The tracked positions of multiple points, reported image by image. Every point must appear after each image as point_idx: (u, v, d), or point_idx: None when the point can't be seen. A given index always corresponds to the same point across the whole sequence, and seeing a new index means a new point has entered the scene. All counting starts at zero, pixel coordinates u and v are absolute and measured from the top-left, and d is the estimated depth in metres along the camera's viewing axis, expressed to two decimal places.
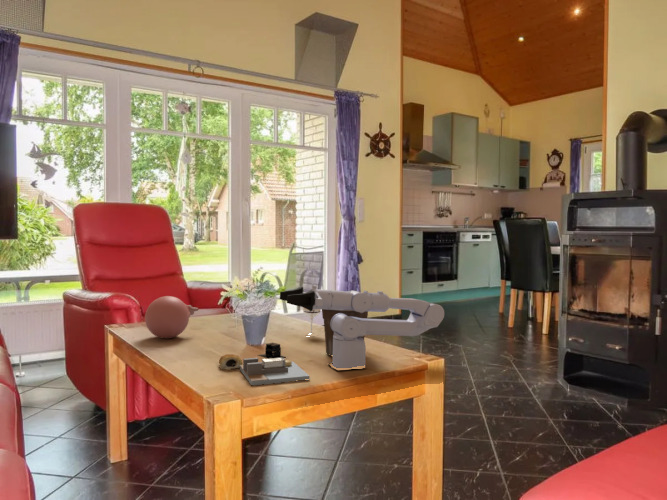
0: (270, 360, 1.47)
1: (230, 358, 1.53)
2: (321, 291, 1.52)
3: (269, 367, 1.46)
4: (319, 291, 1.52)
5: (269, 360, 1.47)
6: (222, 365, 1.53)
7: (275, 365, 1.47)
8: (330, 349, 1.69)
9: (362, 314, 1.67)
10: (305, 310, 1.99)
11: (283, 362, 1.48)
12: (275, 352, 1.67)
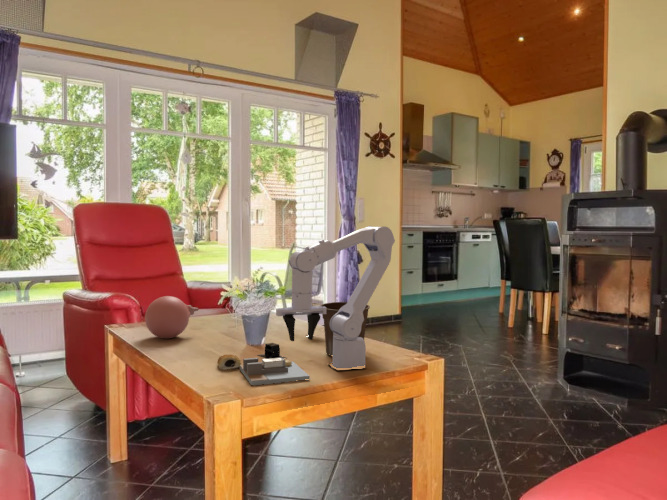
0: (270, 360, 1.47)
1: (229, 358, 1.53)
2: (308, 303, 1.48)
3: (269, 367, 1.46)
4: (308, 306, 1.49)
5: (269, 360, 1.47)
6: (221, 365, 1.52)
7: (275, 365, 1.47)
8: (330, 349, 1.69)
9: None
10: None
11: (283, 362, 1.48)
12: (274, 352, 1.66)
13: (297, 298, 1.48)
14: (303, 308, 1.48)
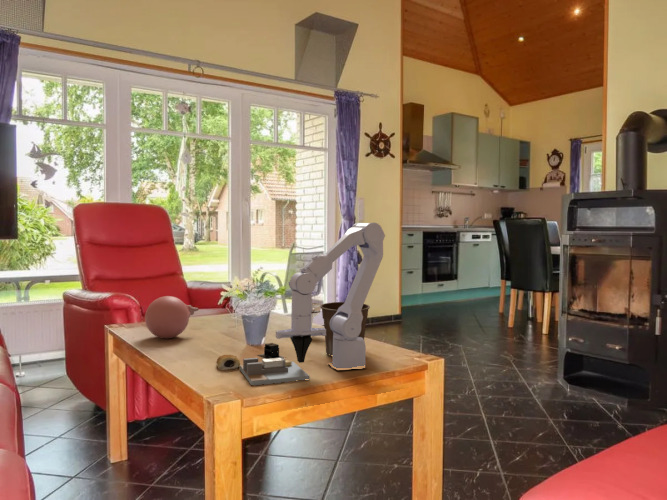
0: (270, 360, 1.47)
1: (228, 358, 1.53)
2: (308, 326, 1.49)
3: (269, 367, 1.46)
4: (308, 328, 1.49)
5: (269, 360, 1.47)
6: (220, 365, 1.52)
7: (275, 365, 1.47)
8: (330, 349, 1.69)
9: (362, 314, 1.67)
10: None
11: (283, 362, 1.48)
12: (273, 352, 1.66)
13: (297, 320, 1.48)
14: (303, 330, 1.48)
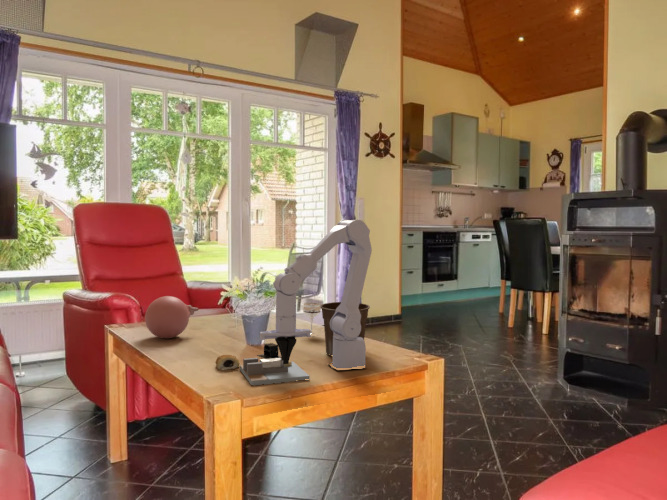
0: (268, 360, 1.47)
1: (227, 358, 1.53)
2: (292, 327, 1.47)
3: (267, 367, 1.46)
4: (292, 329, 1.47)
5: (267, 360, 1.47)
6: (219, 366, 1.52)
7: (272, 365, 1.47)
8: (330, 349, 1.69)
9: (362, 314, 1.67)
10: (305, 310, 1.99)
11: (281, 362, 1.47)
12: (272, 353, 1.66)
13: (281, 321, 1.46)
14: (287, 331, 1.46)
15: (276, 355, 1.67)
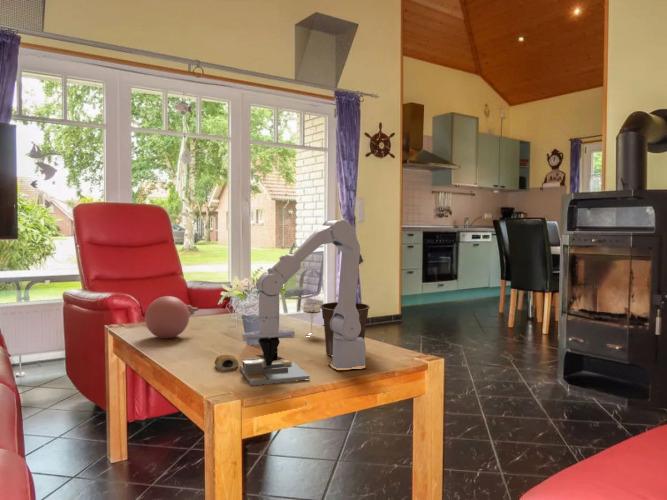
0: (251, 362, 1.45)
1: (227, 359, 1.53)
2: (275, 328, 1.45)
3: None
4: (276, 330, 1.45)
5: (250, 362, 1.45)
6: (219, 366, 1.52)
7: None
8: (330, 349, 1.69)
9: (362, 314, 1.67)
10: (305, 310, 1.99)
11: (264, 364, 1.46)
12: None
13: (264, 322, 1.45)
14: (270, 333, 1.45)
15: (275, 355, 1.67)
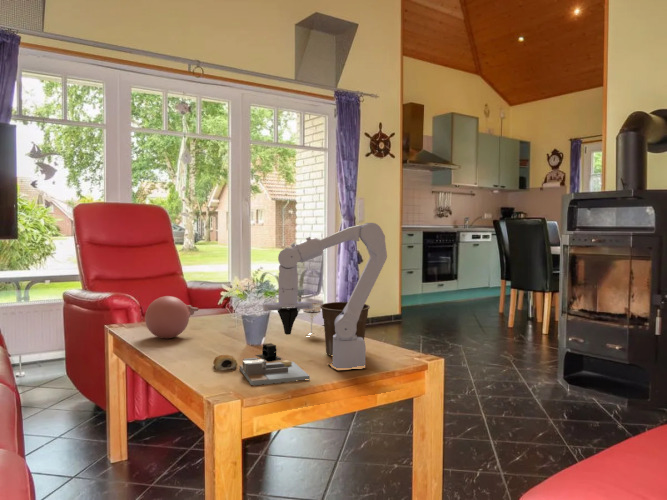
0: (251, 362, 1.45)
1: (225, 359, 1.53)
2: (294, 299, 1.54)
3: None
4: (295, 301, 1.54)
5: (250, 362, 1.45)
6: (217, 366, 1.52)
7: None
8: (330, 349, 1.69)
9: (362, 314, 1.67)
10: (305, 310, 1.99)
11: (264, 364, 1.46)
12: (270, 353, 1.66)
13: (283, 293, 1.53)
14: (289, 303, 1.53)
15: (274, 355, 1.66)
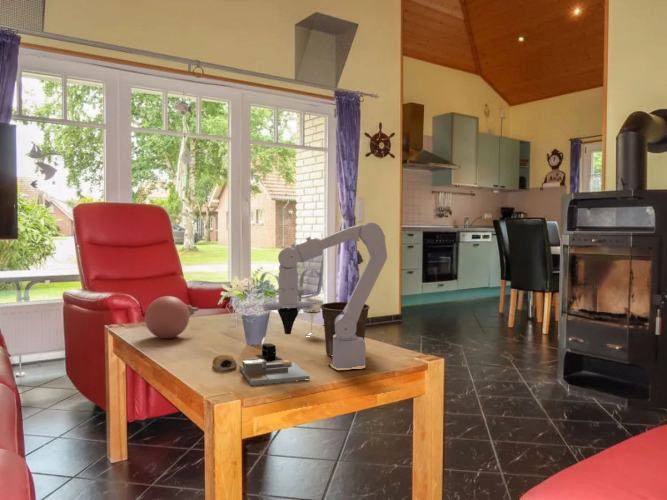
0: (251, 362, 1.45)
1: (225, 359, 1.52)
2: (294, 298, 1.54)
3: None
4: (295, 301, 1.54)
5: (250, 362, 1.45)
6: (217, 366, 1.52)
7: None
8: (330, 349, 1.69)
9: (362, 314, 1.67)
10: (305, 310, 1.99)
11: (264, 364, 1.46)
12: (269, 353, 1.65)
13: (283, 293, 1.53)
14: (289, 303, 1.53)
15: (273, 356, 1.66)
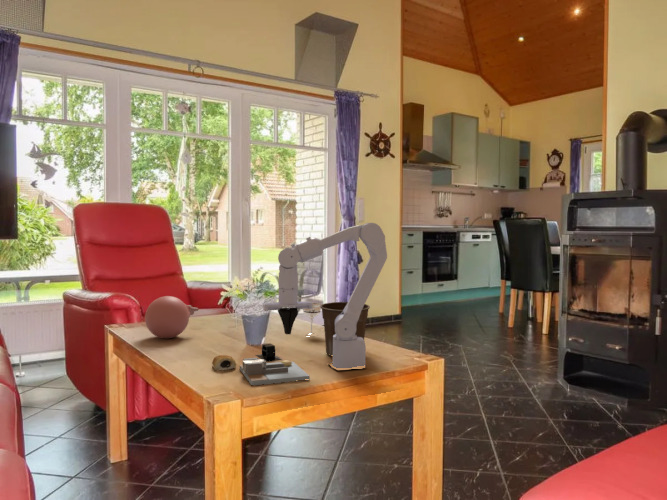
0: (251, 362, 1.45)
1: (224, 359, 1.52)
2: (294, 298, 1.54)
3: None
4: (295, 301, 1.54)
5: (250, 362, 1.45)
6: (216, 366, 1.51)
7: None
8: (330, 349, 1.69)
9: (362, 314, 1.67)
10: (305, 310, 1.99)
11: (264, 364, 1.46)
12: (268, 353, 1.65)
13: (283, 293, 1.53)
14: (289, 303, 1.53)
15: (273, 356, 1.66)
